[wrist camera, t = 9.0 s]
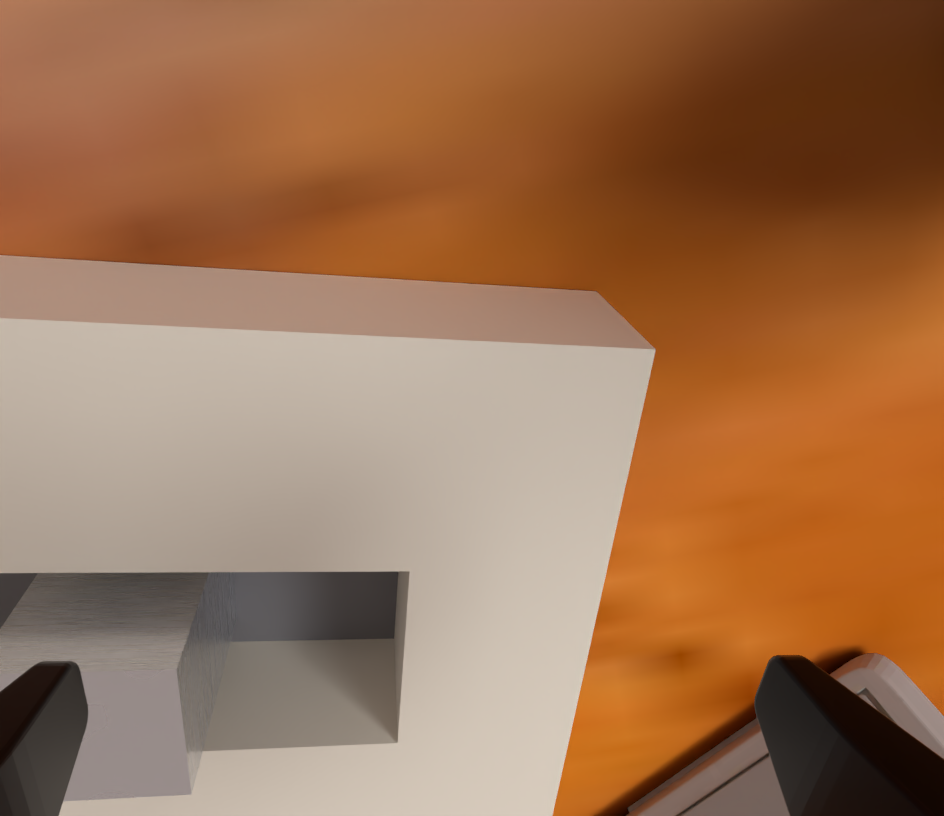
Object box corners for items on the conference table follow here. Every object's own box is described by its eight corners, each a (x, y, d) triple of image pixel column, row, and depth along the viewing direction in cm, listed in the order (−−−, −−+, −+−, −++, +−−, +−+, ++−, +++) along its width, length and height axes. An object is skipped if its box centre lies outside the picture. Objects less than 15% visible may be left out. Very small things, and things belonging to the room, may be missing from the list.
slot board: (596, 291, 19) (656, 349, 15) (516, 744, 27) (541, 863, 23) (-440, 228, 15) (-730, 283, 11) (-189, 775, 23) (-309, 924, 19)
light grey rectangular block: (230, 509, 20) (176, 669, 15) (236, 616, 22) (191, 794, 16) (81, 508, 19) (-31, 675, 14) (101, 618, 21) (7, 803, 16)
